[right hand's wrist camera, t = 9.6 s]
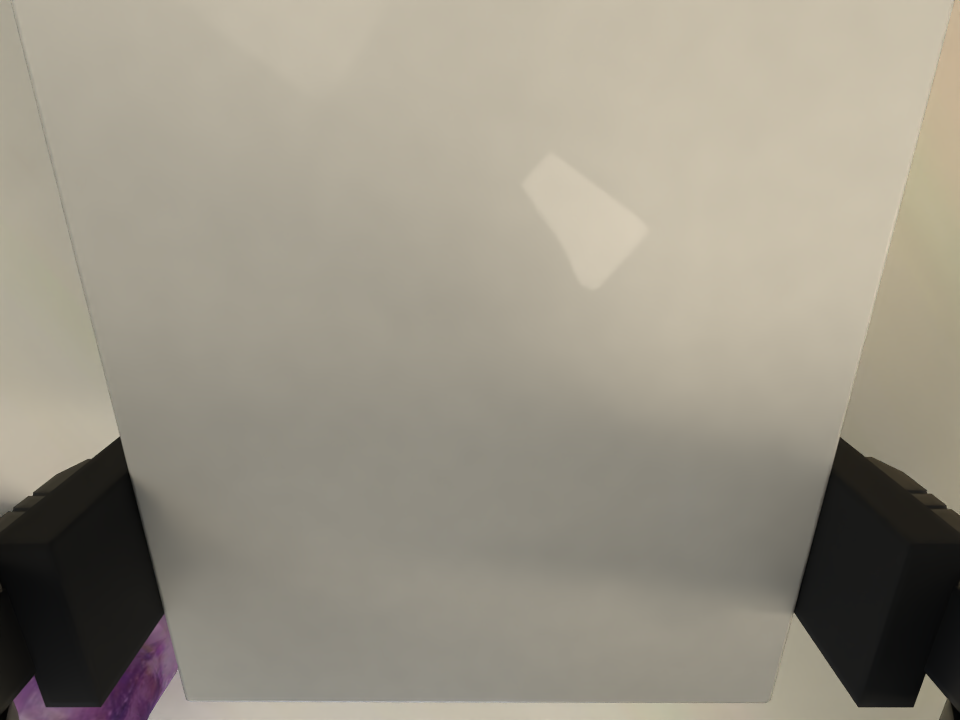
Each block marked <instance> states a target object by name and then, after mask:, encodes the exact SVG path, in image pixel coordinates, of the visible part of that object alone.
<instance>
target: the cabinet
mask: <svg viewBox="0 0 960 720" xmlns="http://www.w3.org/2000/svg"><path fill="white" fill-rule="evenodd" d="M954 1H955V0H11V4H12V8H13V12H14V16H15V20H16V24H17V28H18V32H19V36H20V40H21V44H22V48H23V52H24V56H25V60H26V64H27V68H28V72H29V76H30V79H31V83H32V87H33V91H34V95H35V99H36V103H37V107H38V111H39V115H40V119H41V123H42V127H43V131H44V135H45V139H46V143H47V147H48V151H49V155H50V159H51V163H52V167H53V171H54V175H55V179H56V183H57V187H58V191H59V195H60V199H61V203H62V207H63V211H64V215H65V219H66V223H67V227H68V231H69V235H70V239H71V243H72V247H73V251H74V255H75V259H76V263H77V267H78V271H79V275H80V279H81V283H82V287H83V291H84V295H85V299H86V302H87V306H88V310H89V314H90V318H91V322H92V326H93V330H94V334H95V338H96V342H97V346H98V350H99V354H100V358H101V362H102V366H103V370H104V374H105V378H106V382H107V386H108V390H109V394H110V398H111V402H112V406H113V410H114V414H115V418H116V422H117V426H118V430H119V434H120V438H121V442H122V446H123V450H124V454H125V458H126V462H127V466H128V470H129V474H130V478H131V482H132V486H133V490H134V494H135V498H136V502H137V506H138V510H139V514H140V518H141V522H142V526H143V529H144V533H145V537H146V541H147V545H148V549H149V553H150V557H151V561H152V565H153V569H154V573H155V577H156V581H157V585H158V589H159V593H160V597H161V601H162V605H163V609H164V613H165V617H166V621H167V625H168V629H169V633H170V637H171V641H172V645H173V649H174V653H175V657H176V661H177V665H178V669H179V673H180V677H181V681H182V685H183V689H184V693H185V697H186V699H187V700H188V701H190V702H520V703H767V702H769V701H770V700H771V697H772V693H773V689H774V686H775V682H776V678H777V674H778V670H779V666H780V663H781V659H782V655H783V651H784V647H785V644H786V640H787V636H788V632H789V628H790V625H791V621H792V617H793V613H794V609H795V606H796V602H797V598H798V594H799V590H800V587H801V583H802V579H803V575H804V571H805V568H806V564H807V560H808V556H809V552H810V549H811V545H812V541H813V537H814V533H815V530H816V526H817V522H818V518H819V514H820V510H821V507H822V503H823V499H824V495H825V491H826V488H827V484H828V480H829V476H830V472H831V469H832V465H833V461H834V457H835V453H836V450H837V446H838V442H839V438H840V434H841V431H842V427H843V423H844V419H845V415H846V412H847V408H848V404H849V400H850V396H851V393H852V389H853V385H854V381H855V377H856V374H857V370H858V366H859V362H860V358H861V355H862V351H863V347H864V343H865V339H866V335H867V332H868V328H869V324H870V320H871V316H872V313H873V309H874V305H875V301H876V297H877V294H878V290H879V286H880V282H881V278H882V275H883V271H884V267H885V263H886V259H887V256H888V252H889V248H890V244H891V240H892V237H893V233H894V229H895V225H896V221H897V218H898V214H899V210H900V206H901V202H902V199H903V195H904V191H905V187H906V183H907V179H908V176H909V172H910V168H911V164H912V160H913V157H914V153H915V149H916V145H917V141H918V138H919V134H920V130H921V126H922V122H923V119H924V115H925V111H926V107H927V103H928V100H929V96H930V92H931V88H932V84H933V81H934V77H935V73H936V69H937V65H938V62H939V58H940V54H941V50H942V46H943V43H944V39H945V35H946V31H947V27H948V24H949V20H950V16H951V12H952V8H953V4H954Z"/></svg>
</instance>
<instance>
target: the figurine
mask: <svg viewBox="0 0 960 720" xmlns="http://www.w3.org/2000/svg"><path fill="white" fill-rule="evenodd" d="M177 669H178V665H177V661H176V657H175V653H174V649H173V645H172V641H171V637H170V633H169V629H168V625H167V621H166V617H165V614H164V615H163V617H162V618H161V620H160V621H159V622H158V624H157V625H156V627H155V628H154V630H153V631H152V633H151V634H150V636H149V637H148V639H147V640H146V642H145V643H144V645H143V646H142V648H141V649H140V651H139V652H138V653H137V655H136V656H135V658H134V659H133V661H132V662H131V664H130V665H129V667H128V668H127V670H126V671H125V673H124V674H123V676H122V677H121V679H120V680H119V682H118V683H117V684H116V686H115V687H114V689H113V690H112V692H111V693H110V695H109V696H108V698H107V699H106V701H105V702H104V704H103V705H102V707H46V706H45V704H44V701H43V698H42V695H41V693H40V690H39V687H38V685H37V682H36V679H35V676H33V678H32V679H31V680H30V681H29V682H28V683H27V685H26V686H25V687H24V688H23V689H22V691H21V692H20V693H19V694H18V695H17V696H16V698H15V699H14V700H13V701H14V703H15V706H16V709H17V711H18V715H19V720H148V717H149V715H150V713H151V711H152V710H153V708H154V706H155V705H156V703H157V702H158V700H159V698H160V697H161V695H162V694H163V692H164V691H165V689H166V687H167V686H168V684H169V683H170V681H171V680H172V678H173V677H174V675H175V673H176V672H177Z"/></svg>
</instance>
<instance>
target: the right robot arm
mask: <svg viewBox="0 0 960 720" xmlns="http://www.w3.org/2000/svg"><path fill="white" fill-rule="evenodd" d="M13 509H14V510H13V512H7V513H6V514H5V515H3V516H2V517H1V518H0V720H19V715H18V711H17V709H16V706H15V703H14V701H13V700H14V699H15V698H16V696H17V695H18V694H19V693H20V692H21V691H22V689H23V688H24V687H25V686H26V685H27V683H28V682H29V681H30V680H31V679H32V678H33V676H35V679H36V682H37V685H38V687H39V690H40V693H41V695H42V698H43V701H44V704H45V706H46V707H102V705H103V704H104V702H105V701H106V699H107V698H108V696H109V695H110V693H111V692H112V690H113V689H114V687H115V686H116V684H117V683H118V682H119V680H120V679H121V677H122V676H123V674H124V673H125V671H126V670H127V668H128V667H129V665H130V664H131V662H132V661H133V659H134V658H135V656H136V655H137V653H138V652H139V651H140V649H141V648H142V646H143V645H144V643H145V642H146V640H147V639H148V637H149V636H150V634H151V633H152V631H153V630H154V628H155V627H156V625H157V624H158V622H159V621H160V620H161V618H162V617H163V615H164V614H165V613H164V609H163V605H162V601H161V597H160V593H159V589H158V585H157V581H156V577H155V573H154V569H153V565H152V561H151V557H150V553H149V549H148V545H147V541H146V537H145V533H144V529H143V526H142V522H141V518H140V514H139V510H138V506H137V502H136V498H135V494H134V490H133V486H132V482H131V478H130V474H129V470H128V466H127V462H126V458H125V454H124V450H123V446H122V442H121V438H120V437H119V438H117V439H116V440H115V441H114V442H112V443H111V444H110V445H109V446H107V447H106V448H105V449H104V450H102V451H101V452H100V453H99V454H97V455H96V456H95V457H94V458H92V459H87V460H85V461H83V462H81V463H79V464H77V465H75V466H73V467H71V468H69V469H67V470H65V471H63V472H61V473H59V474H57V475H55V476H54V477H53V478H51V479H50V480H49V481H47V482H46V483H45V484H44V485H42V486H41V487H40V488H38V489H37V490H36V491H35V492H33V496H28V497H27V498H25V499H24V500H23V501H22V502H20V503H19V504H18V505H16V506H15V507H14V508H13ZM794 613H795V615H796V616H797V618H798V619H799V620H800V622H801V623H802V625H803V626H804V628H805V629H806V631H807V632H808V634H809V635H810V637H811V638H812V640H813V641H814V643H815V644H816V646H817V647H818V649H819V650H820V651H821V653H822V654H823V656H824V657H825V659H826V660H827V662H828V663H829V665H830V666H831V668H832V669H833V671H834V672H835V674H836V675H837V677H838V678H839V680H840V681H841V682H842V684H843V685H844V687H845V688H846V690H847V691H848V693H849V694H850V696H851V697H852V699H853V700H854V702H855V703H856V705H857V706H858V707H914V704H915V702H916V699H917V696H918V693H919V691H920V688H921V685H922V682H923V680H924V677H925V674H927V675H928V676H929V677H930V679H931V680H932V681H933V682H934V683H935V684H936V686H937V687H938V688H939V689H940V690H941V691H942V693H943V694H944V695H945V696H946V697H947V701H946V703H945V706H944V709H943V711H942V714H941V716H940V719H939V720H960V515H958V514H957V513H956V512H955V511H953V510H952V509H947V508H946V505H945V504H944V503H943V502H941V501H940V500H939V499H938V498H936V497H935V496H934V495H932V494H927V490H926V489H924V488H923V487H922V486H920V485H919V484H918V483H917V482H915V481H914V480H913V479H911V478H910V477H909V476H907V475H906V474H905V473H903V472H902V471H900V470H897V469H895V468H893V467H891V466H889V465H887V464H885V463H883V462H881V461H879V460H877V459H875V458H873V457H864V456H863V455H862V454H861V453H859V452H858V451H857V450H856V449H854V448H853V447H852V446H851V445H849V444H848V443H847V442H846V441H844V440H843V439H842V438H841V437H840V438H839V442H838V446H837V450H836V453H835V457H834V461H833V465H832V469H831V472H830V476H829V480H828V484H827V488H826V491H825V495H824V499H823V503H822V507H821V510H820V514H819V518H818V522H817V526H816V530H815V533H814V537H813V541H812V545H811V549H810V552H809V556H808V560H807V564H806V568H805V571H804V575H803V579H802V583H801V587H800V590H799V594H798V598H797V602H796V606H795V609H794Z"/></svg>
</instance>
